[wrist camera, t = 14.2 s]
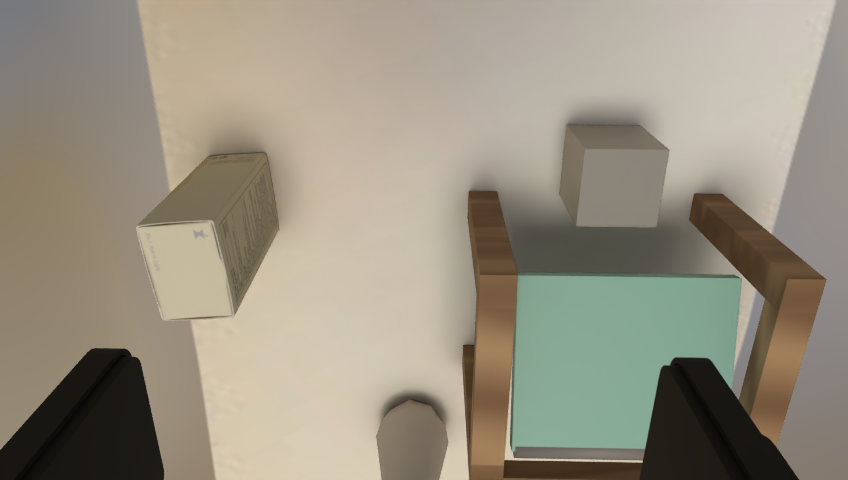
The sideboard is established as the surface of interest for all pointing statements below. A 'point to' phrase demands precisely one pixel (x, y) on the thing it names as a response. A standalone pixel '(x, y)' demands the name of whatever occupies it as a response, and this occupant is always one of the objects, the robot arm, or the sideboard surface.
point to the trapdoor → (608, 355)
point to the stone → (612, 175)
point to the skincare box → (210, 237)
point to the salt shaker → (411, 443)
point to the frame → (495, 317)
